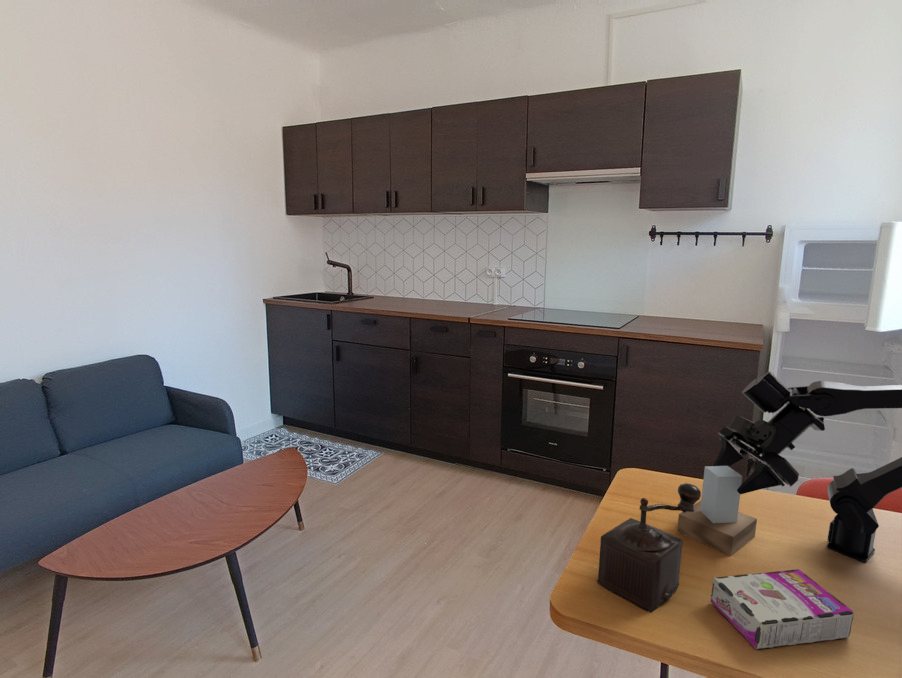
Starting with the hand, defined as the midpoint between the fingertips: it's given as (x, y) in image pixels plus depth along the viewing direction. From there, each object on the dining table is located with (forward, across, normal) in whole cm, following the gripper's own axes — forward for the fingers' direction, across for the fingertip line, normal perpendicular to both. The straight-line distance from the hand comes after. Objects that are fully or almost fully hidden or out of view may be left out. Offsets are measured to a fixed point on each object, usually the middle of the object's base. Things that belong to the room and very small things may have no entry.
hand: (724, 482), depth 110 cm
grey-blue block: (+6, 0, +5) cm, 8 cm away
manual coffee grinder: (+24, +14, -7) cm, 29 cm away
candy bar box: (+4, +25, +9) cm, 27 cm away
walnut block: (+9, 0, +8) cm, 12 cm away
